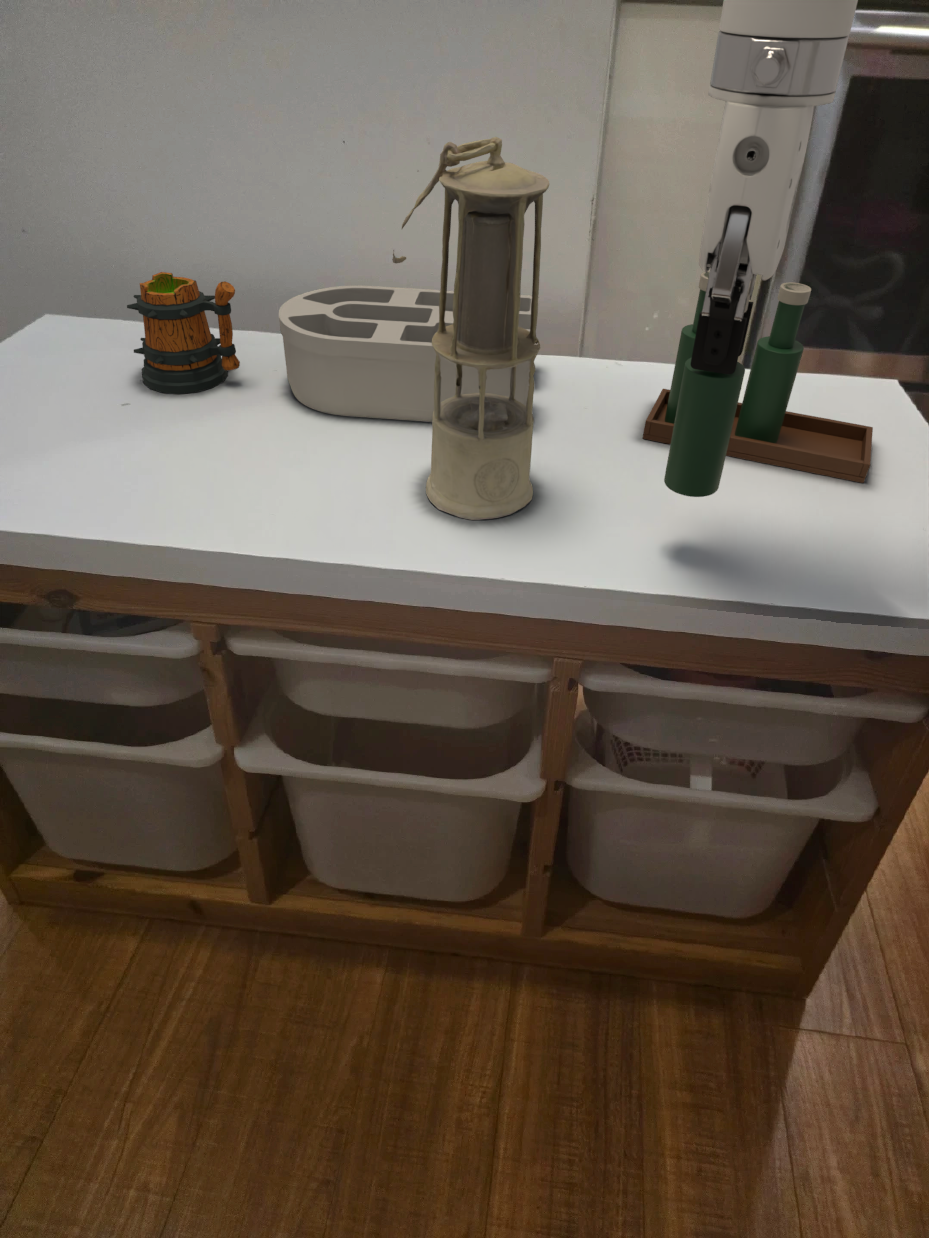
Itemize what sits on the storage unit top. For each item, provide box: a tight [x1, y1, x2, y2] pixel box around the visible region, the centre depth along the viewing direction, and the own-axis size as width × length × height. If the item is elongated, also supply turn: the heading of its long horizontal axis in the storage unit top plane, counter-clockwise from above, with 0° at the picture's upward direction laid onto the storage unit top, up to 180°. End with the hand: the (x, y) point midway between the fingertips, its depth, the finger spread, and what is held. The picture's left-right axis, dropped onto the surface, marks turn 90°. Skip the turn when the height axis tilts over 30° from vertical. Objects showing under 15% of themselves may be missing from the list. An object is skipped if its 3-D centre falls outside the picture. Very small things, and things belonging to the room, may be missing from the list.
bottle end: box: [665, 270, 710, 424], centre depth 87 cm, size 4×4×16 cm
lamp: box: [391, 136, 550, 521], centre depth 72 cm, size 10×13×30 cm
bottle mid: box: [735, 282, 812, 443], centre depth 85 cm, size 4×4×16 cm
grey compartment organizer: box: [278, 284, 540, 423], centre depth 96 cm, size 17×28×9 cm, turn 84°
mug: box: [126, 271, 241, 395], centre depth 96 cm, size 13×10×12 cm
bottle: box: [663, 287, 750, 498], centre depth 65 cm, size 4×4×16 cm
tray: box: [642, 388, 874, 484], centre depth 90 cm, size 22×9×2 cm, turn 68°
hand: (716, 359), depth 64 cm, fingers closed on bottle, 2 cm apart
